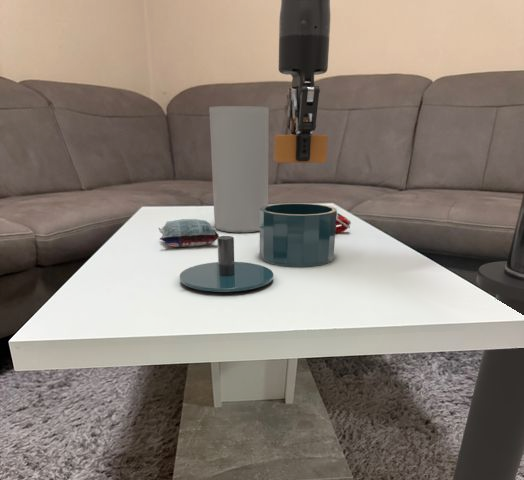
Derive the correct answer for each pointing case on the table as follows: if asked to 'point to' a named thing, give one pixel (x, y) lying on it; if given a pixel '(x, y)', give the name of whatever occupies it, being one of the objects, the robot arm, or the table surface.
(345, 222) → the tracker holder
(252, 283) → the lid
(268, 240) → the pot
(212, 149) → the cylinder vase
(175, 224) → the packaged food
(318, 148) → the orange rectangular block
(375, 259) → the table surface
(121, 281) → the table surface
